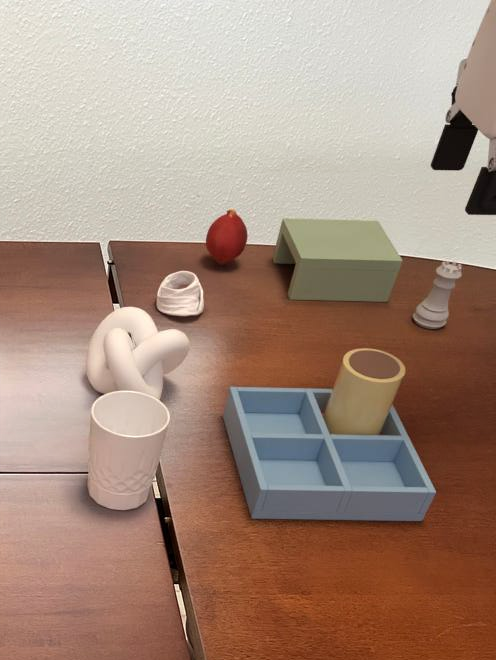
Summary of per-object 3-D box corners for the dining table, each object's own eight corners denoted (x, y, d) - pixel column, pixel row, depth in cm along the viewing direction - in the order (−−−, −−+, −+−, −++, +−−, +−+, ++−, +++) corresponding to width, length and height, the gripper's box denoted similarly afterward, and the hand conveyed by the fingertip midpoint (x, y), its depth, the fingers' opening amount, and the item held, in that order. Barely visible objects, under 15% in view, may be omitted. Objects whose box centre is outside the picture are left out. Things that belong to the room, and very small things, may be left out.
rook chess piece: (433, 333, 120) (458, 277, 114) (405, 320, 122) (427, 263, 116) (451, 323, 122) (476, 266, 116) (422, 309, 124) (445, 253, 118)
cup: (367, 417, 105) (395, 347, 98) (383, 451, 100) (414, 382, 93) (312, 416, 104) (336, 346, 97) (326, 451, 100) (352, 380, 93)
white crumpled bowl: (204, 329, 120) (215, 297, 116) (155, 323, 120) (164, 290, 116) (199, 296, 125) (209, 264, 121) (152, 289, 124) (161, 257, 120)
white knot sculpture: (173, 430, 104) (187, 362, 97) (72, 413, 105) (79, 345, 98) (183, 377, 111) (196, 310, 104) (88, 362, 112) (96, 295, 105)
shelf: (364, 261, 133) (378, 220, 128) (387, 302, 125) (403, 260, 120) (272, 258, 132) (282, 218, 128) (289, 299, 124) (301, 258, 120)
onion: (212, 250, 133) (224, 195, 127) (247, 262, 131) (260, 207, 125) (194, 265, 130) (205, 209, 124) (229, 277, 128) (242, 221, 122)
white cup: (115, 458, 100) (126, 381, 92) (169, 492, 96) (186, 414, 89) (67, 489, 96) (74, 410, 88) (121, 525, 92) (134, 447, 85)
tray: (374, 418, 107) (385, 389, 103) (422, 521, 95) (436, 492, 92) (222, 415, 106) (229, 386, 103) (251, 518, 94) (260, 489, 91)
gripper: (644, 6, 67) (537, 233, 80) (549, -54, 78) (469, 154, 91) (546, 4, 66) (455, 232, 79) (465, -55, 78) (397, 153, 91)
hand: (463, 190), depth 85 cm, fingers open, 9 cm apart
